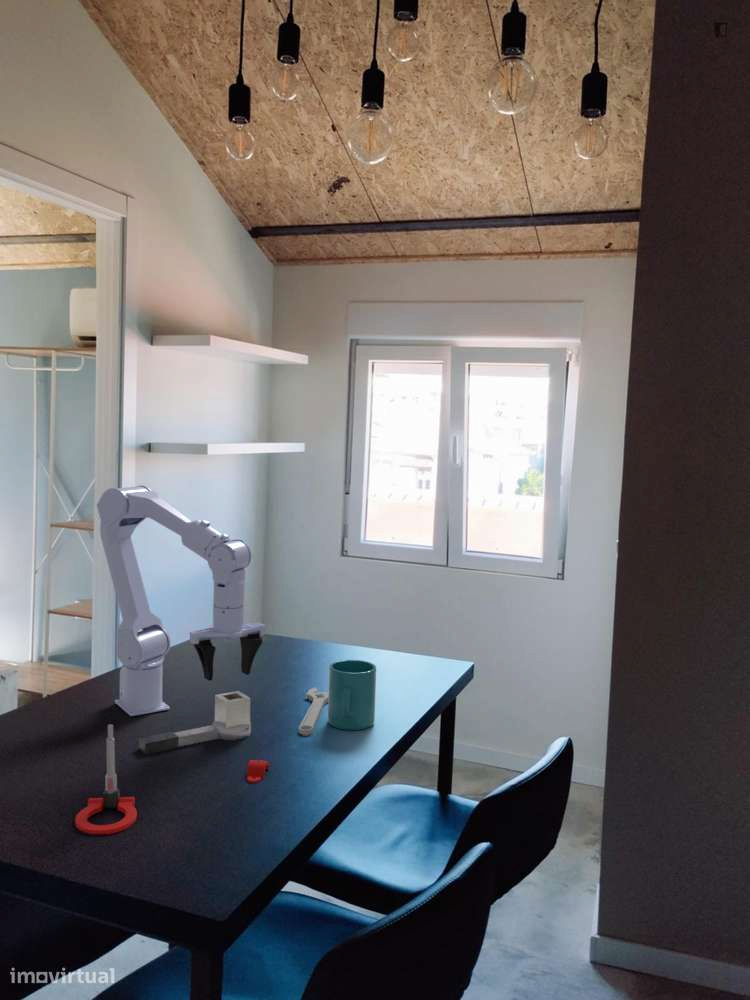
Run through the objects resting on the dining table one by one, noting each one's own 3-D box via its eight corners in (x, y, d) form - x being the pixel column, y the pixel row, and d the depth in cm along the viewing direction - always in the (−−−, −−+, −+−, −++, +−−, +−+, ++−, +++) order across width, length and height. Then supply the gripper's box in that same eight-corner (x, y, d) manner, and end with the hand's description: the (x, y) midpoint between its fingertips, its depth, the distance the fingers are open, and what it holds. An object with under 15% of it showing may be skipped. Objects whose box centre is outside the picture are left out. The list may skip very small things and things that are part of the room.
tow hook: (132, 837, 119) (141, 803, 128) (131, 749, 117) (140, 722, 126) (69, 839, 117) (83, 806, 127) (67, 751, 116) (81, 723, 125)
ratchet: (135, 745, 150) (135, 720, 149) (240, 723, 162) (240, 701, 161) (149, 758, 144) (149, 733, 144) (257, 735, 156) (257, 712, 156)
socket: (214, 721, 157) (215, 695, 157) (238, 716, 160) (238, 690, 160) (225, 729, 153) (226, 702, 153) (249, 724, 156) (250, 698, 156)
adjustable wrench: (311, 739, 157) (311, 729, 157) (278, 735, 158) (278, 726, 158) (340, 695, 181) (340, 687, 181) (311, 692, 182) (311, 684, 182)
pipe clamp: (255, 763, 144) (255, 751, 144) (271, 765, 144) (271, 752, 144) (243, 784, 136) (244, 771, 136) (261, 785, 136) (261, 772, 136)
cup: (320, 735, 157) (321, 676, 156) (332, 713, 169) (334, 658, 168) (368, 739, 156) (370, 679, 155) (377, 716, 168) (379, 661, 167)
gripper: (201, 613, 151) (199, 687, 153) (273, 606, 160) (271, 676, 161) (185, 605, 157) (184, 677, 158) (256, 598, 165) (254, 666, 167)
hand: (227, 676), depth 160 cm, fingers open, 7 cm apart
